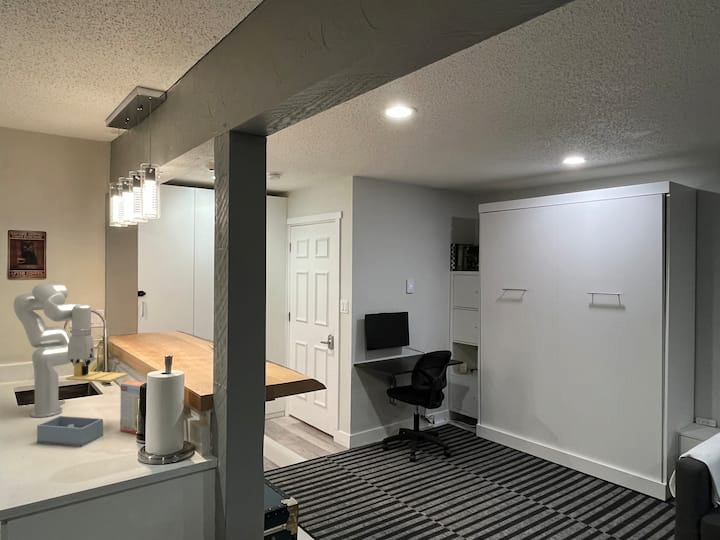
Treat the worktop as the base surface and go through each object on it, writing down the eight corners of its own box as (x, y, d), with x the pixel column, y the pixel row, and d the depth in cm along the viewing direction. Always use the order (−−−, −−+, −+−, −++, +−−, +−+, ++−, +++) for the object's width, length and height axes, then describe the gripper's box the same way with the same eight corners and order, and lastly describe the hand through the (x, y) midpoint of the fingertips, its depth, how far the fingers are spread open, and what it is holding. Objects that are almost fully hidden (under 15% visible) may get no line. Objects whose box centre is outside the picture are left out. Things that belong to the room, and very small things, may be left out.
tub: (37, 442, 192) (37, 425, 192) (59, 432, 204) (60, 416, 204) (82, 446, 189) (82, 428, 189) (102, 435, 201) (102, 418, 201)
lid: (66, 379, 207) (66, 365, 207) (86, 373, 220) (86, 359, 220) (109, 382, 204) (109, 367, 204) (128, 375, 217) (128, 361, 217)
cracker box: (154, 431, 206) (154, 383, 206) (142, 436, 201) (143, 386, 200) (131, 426, 212) (131, 379, 212) (119, 431, 207) (119, 382, 206)
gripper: (58, 333, 210) (58, 375, 211) (92, 335, 208) (92, 377, 208) (71, 331, 218) (71, 371, 218) (103, 332, 215) (103, 373, 216)
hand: (81, 373), depth 213 cm, fingers closed on lid, 3 cm apart
